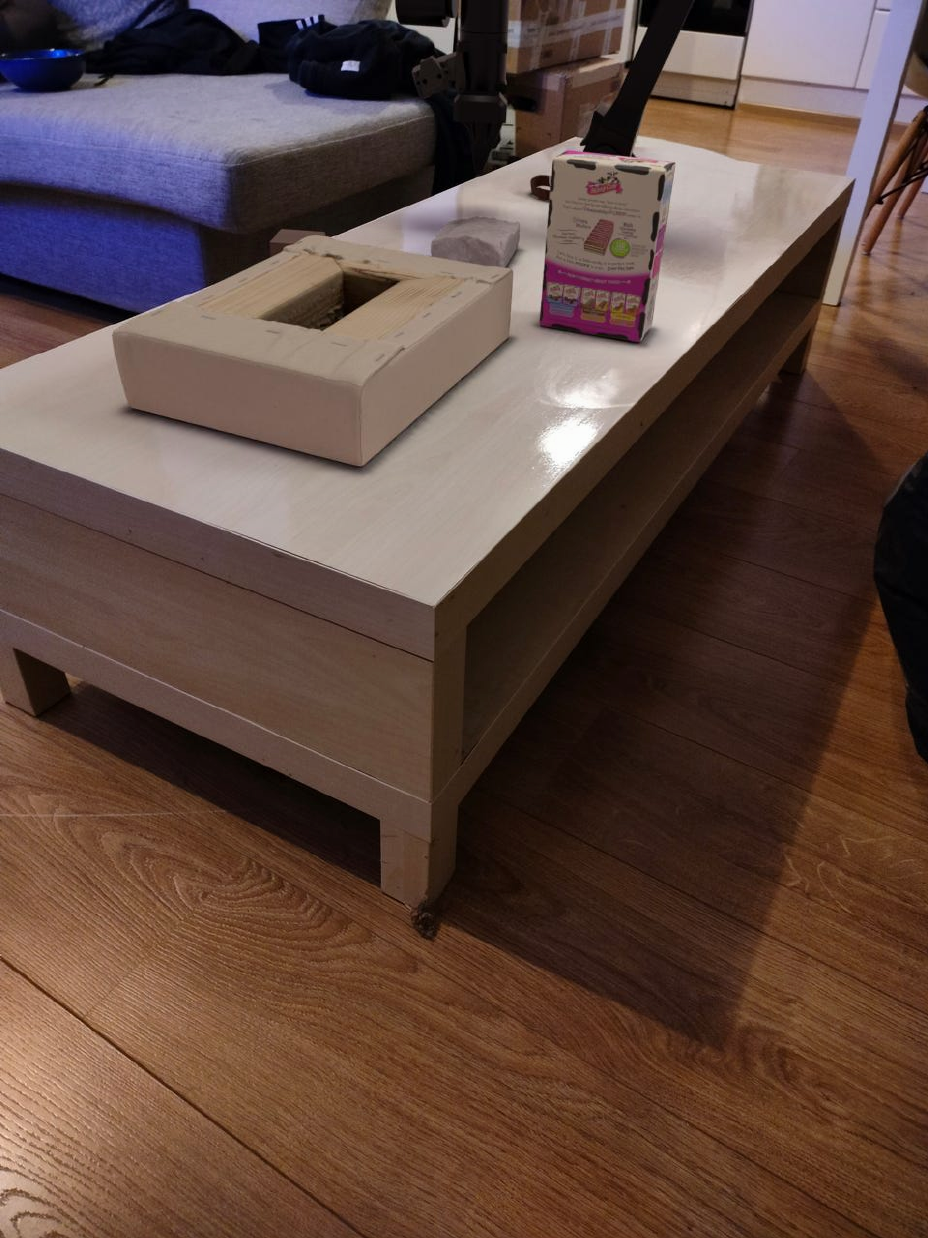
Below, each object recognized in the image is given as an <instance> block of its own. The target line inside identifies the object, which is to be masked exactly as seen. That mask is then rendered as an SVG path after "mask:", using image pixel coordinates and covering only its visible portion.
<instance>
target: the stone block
mask: <svg viewBox="0 0 928 1238" xmlns="http://www.w3.org/2000/svg"><path fill="white" fill-rule="evenodd" d="M520 239H521V222H520V221H515V222H514V221H507V220H503V219H497V218H495V217H487V216H482V217H481V216H473V217H469V218H460V219H455V220H452V221H448V222H447V223H446V224H445V226H442V227H441V228H440V229H439V230H438V231H437V234H436V235H435V237H434V238H432V240H431V243H430V253H431V257H437V258H442V259H448V260H454V261H459V262H465V263H471V264H477V265H482V266H497V267H503V268H507V266H508V264H509V262H510V261H511V259H512V258H513V257H514V254H515V253H516V251H517V249H518V247H519V245H520Z"/></svg>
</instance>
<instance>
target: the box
mask: <svg viewBox="0 0 928 1238" xmlns="http://www.w3.org/2000/svg"><path fill="white" fill-rule="evenodd" d="M513 288H514V270H513V269H512V268H509V267H505V268H503V267H497V266H482V265H477V264H471V263H465V262H459V261H454V260H448V259H442V258H437V257H433V256H432V255H431V256H430V255H424V254H420V253H413V252H409V251H402V250H397V249H392V248H388V247H381V246H376V245H369V244H363V243H358V242H351V241H346V240H342V239H341V240H340V239H336V238H333V237H331V236H328V235H327V236H326V235H325V236H320V235H312V236H307V237H304V238H302V239H301V240H299V241H298V242H296V243H295V244H293V245H289V246H286V247H284V249H283V251H282V252H281V253H279V254H277V255H275V256H273V257H269V258H266V259H265V260H262V261H260V262H258V263H257V264H254V265H252V266H250V267H248V268H246V269H244V270H242V271H239V272H237V273H236V274H233V275H231V276H229V277H227V278H225V279H223V280H221V281H219V282H217V283H215V284H212V285H211V286H208V287H207V288H204V289H203V290H201V291H199V292H196V293H194V294H192V295H190V296H188V297H186V298H184V299H181V300H179V301H177V300H175V301H171V302H169V303H167V304H165V305H164V306H161V307H160V308H158V309H155V310H153V311H149V312H147V313H144V314H140V315H138V316H136V317H134V318H132V319H129V320H127V321H126V322H124V323H122V324H121V325H120V326H118V327H117V328H115V329H114V330H113V332H112V334H111V337H112V344H113V352H114V357H115V363H116V366H117V370H118V375H119V378H120V382H121V386H122V389H123V392H124V396H125V399H126V401H127V404H128V405H129V406H130V408H132V409H136V410H139V411H142V412H147V413H151V414H155V415H159V416H162V417H166V418H167V417H168V418H171V419H174V420H179V421H182V422H186V423H189V424H194V425H198V426H201V427H206V428H209V429H213V430H218V431H221V432H224V433H229V434H232V435H236V436H241V437H243V438H247V439H252V440H256V441H259V442H264V443H268V444H271V445H275V446H278V447H282V448H286V449H290V450H293V451H297V452H301V453H305V454H308V455H312V456H316V457H319V458H324V459H328V460H331V461H335V462H339V463H344V464H347V465H350V466H351V465H352V466H355V467H363V466H365V465H366V464H367V463H368V462H369V461H370V460H372V459H373V458H374V457H375V456H376V455H377V454H378V453H380V452H381V450H383V449H384V448H385V447H386V446H387V445H389V443H390V442H392V441H393V440H394V439H396V437H397V436H398V435H399V434H401V433H402V432H404V430H405V429H406V428H408V426H410V425H411V424H412V423H413V422H414V421H415V420H416V419H418V417H420V416H422V414H423V413H425V412H426V411H427V410H428V409H429V408H430V407H431V406H433V405H434V404H435V403H436V402H437V401H439V399H440V398H442V396H443V395H444V394H445V393H447V392H448V391H449V390H450V389H451V388H453V387H454V386H455V385H456V384H457V383H459V382H460V381H461V380H462V378H464V377H465V376H467V375H468V374H469V373H470V372H471V371H472V370H474V369H475V368H476V367H477V366H478V365H479V364H480V363H481V362H482V361H483V360H484V359H485V358H486V357H488V356H489V355H490V354H491V353H492V352H494V351H495V350H496V349H497V348H498V347H499V346H500V345H502V344H503V343H504V342H506V340H507V339H508V338H509V336H510V328H511V316H512V315H511V314H512V305H513V304H512V303H513V291H514V289H513Z"/></svg>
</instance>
